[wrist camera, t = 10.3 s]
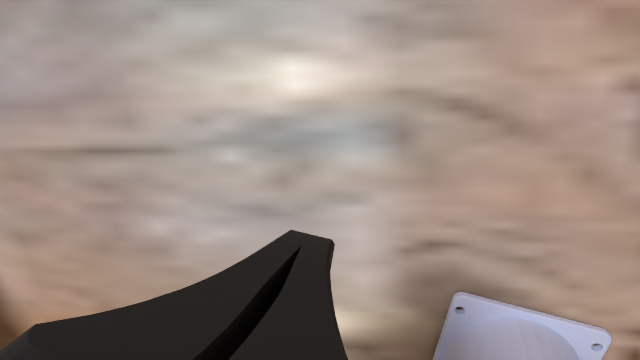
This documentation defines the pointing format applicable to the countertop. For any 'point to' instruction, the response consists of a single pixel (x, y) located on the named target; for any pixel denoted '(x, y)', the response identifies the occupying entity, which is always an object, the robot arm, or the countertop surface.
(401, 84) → the countertop surface
